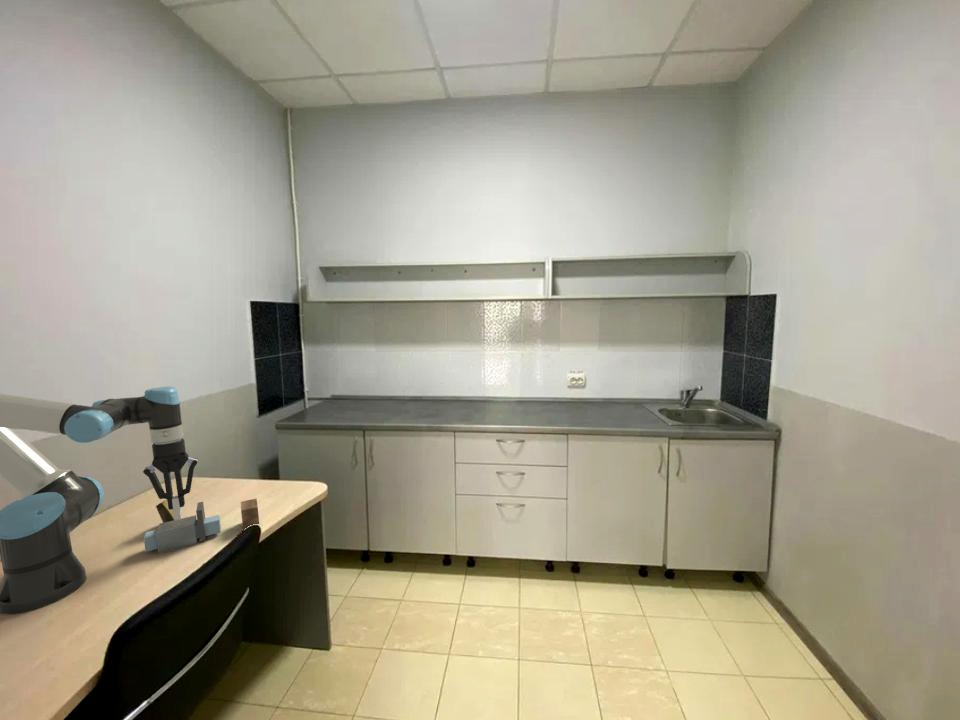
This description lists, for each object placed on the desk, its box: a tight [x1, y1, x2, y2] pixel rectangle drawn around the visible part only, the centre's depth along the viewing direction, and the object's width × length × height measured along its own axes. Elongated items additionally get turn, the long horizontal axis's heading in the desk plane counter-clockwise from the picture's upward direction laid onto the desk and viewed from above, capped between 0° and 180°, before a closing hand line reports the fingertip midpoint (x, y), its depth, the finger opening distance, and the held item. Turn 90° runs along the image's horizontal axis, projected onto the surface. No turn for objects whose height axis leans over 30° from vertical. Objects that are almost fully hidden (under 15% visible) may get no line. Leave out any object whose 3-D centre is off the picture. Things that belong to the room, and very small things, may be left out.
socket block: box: [240, 497, 260, 531], centre depth 132 cm, size 4×7×7 cm, turn 31°
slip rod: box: [143, 501, 222, 552], centre depth 123 cm, size 18×6×10 cm, turn 121°
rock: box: [155, 499, 175, 523], centre depth 133 cm, size 11×9×10 cm
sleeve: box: [156, 514, 199, 555], centre depth 122 cm, size 9×6×6 cm
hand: (178, 517), depth 122 cm, fingers closed
